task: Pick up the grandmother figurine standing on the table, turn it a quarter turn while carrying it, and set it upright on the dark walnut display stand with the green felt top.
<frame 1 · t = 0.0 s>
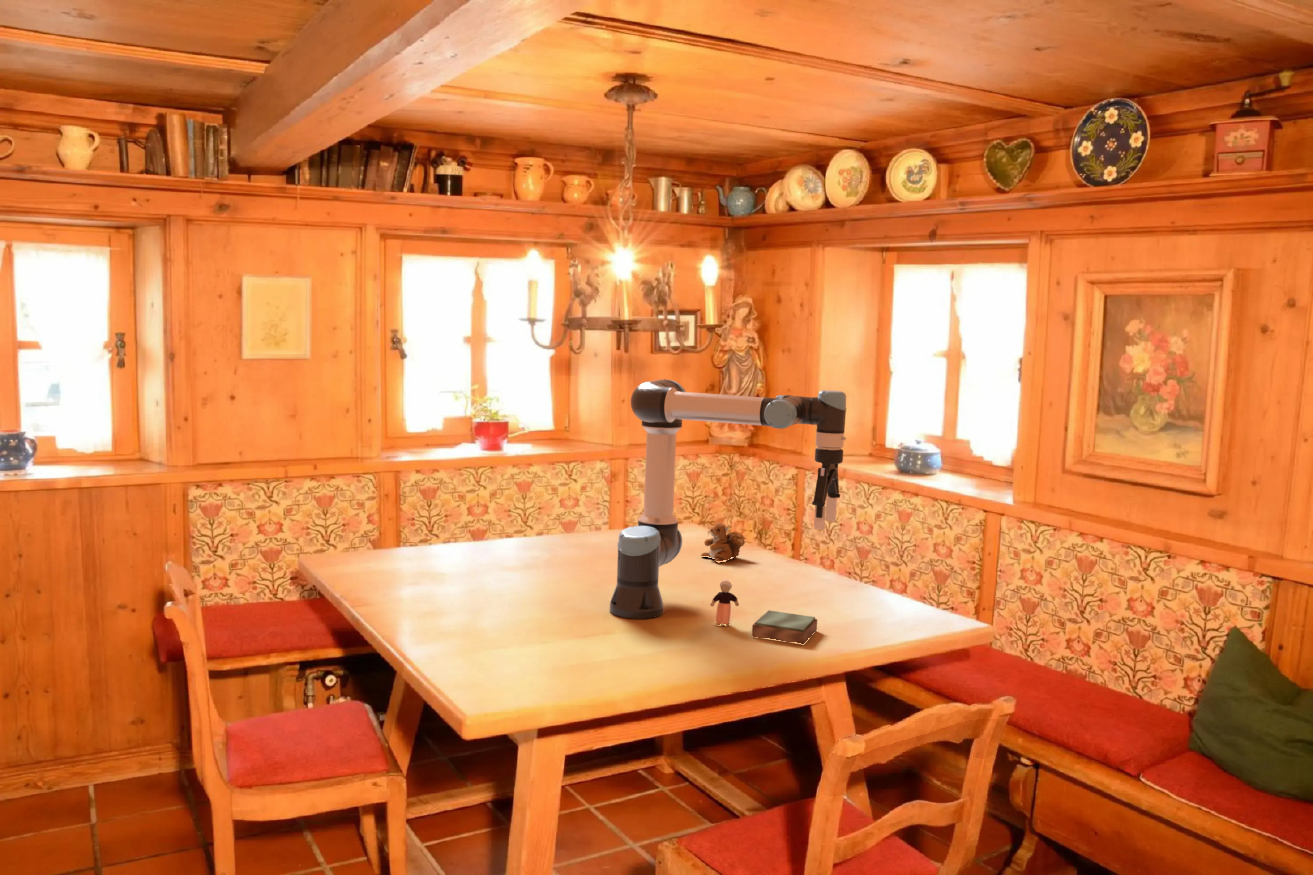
hand: (824, 525, 286), 28 cm above the table, tool pointing down, fingers open, 13 cm apart
grandmother figurine: (724, 625, 285), on the table
stuffed squirrel: (723, 560, 363), on the table
display stand: (784, 634, 279), on the table
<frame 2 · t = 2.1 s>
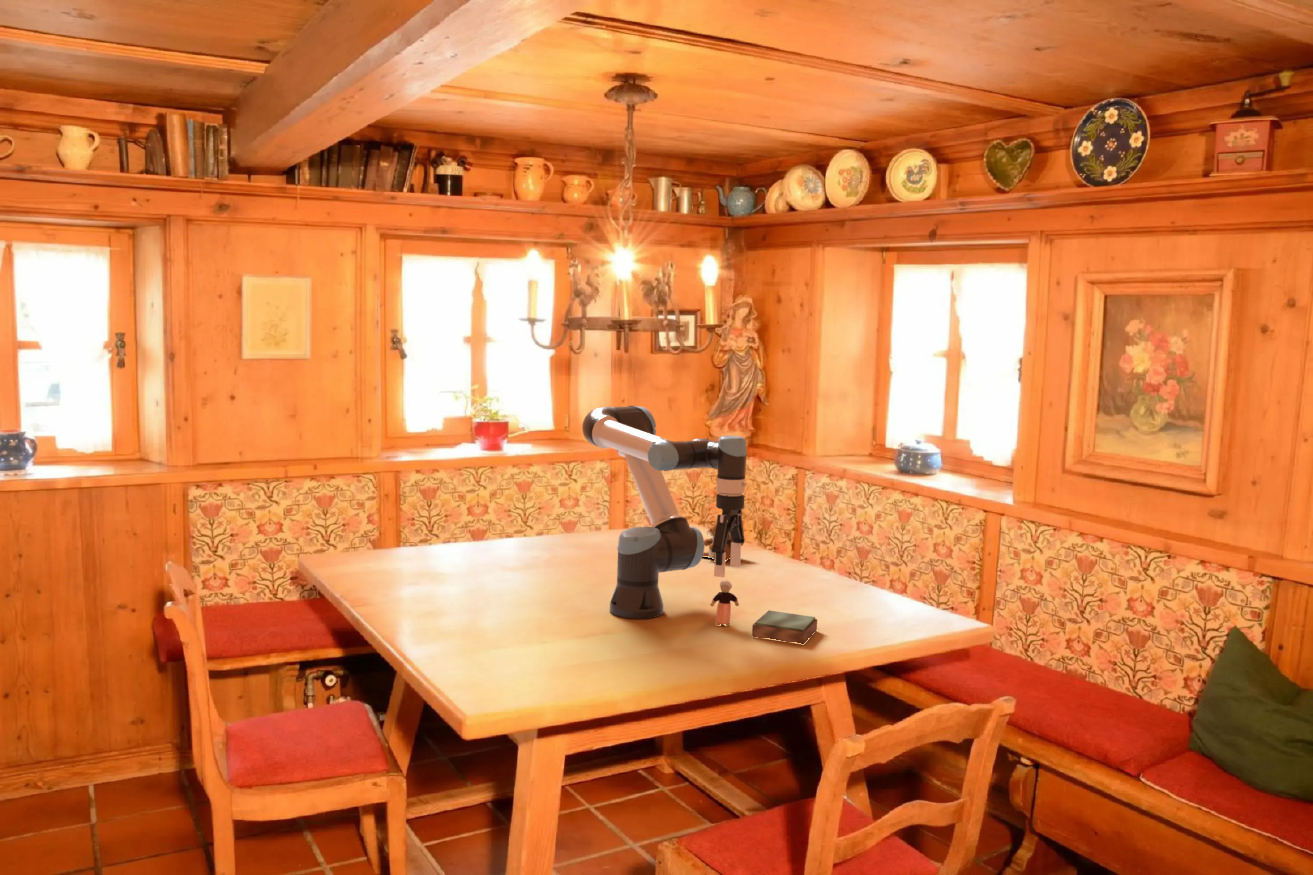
hand: (727, 571, 283), 15 cm above the table, tool pointing down, fingers open, 13 cm apart
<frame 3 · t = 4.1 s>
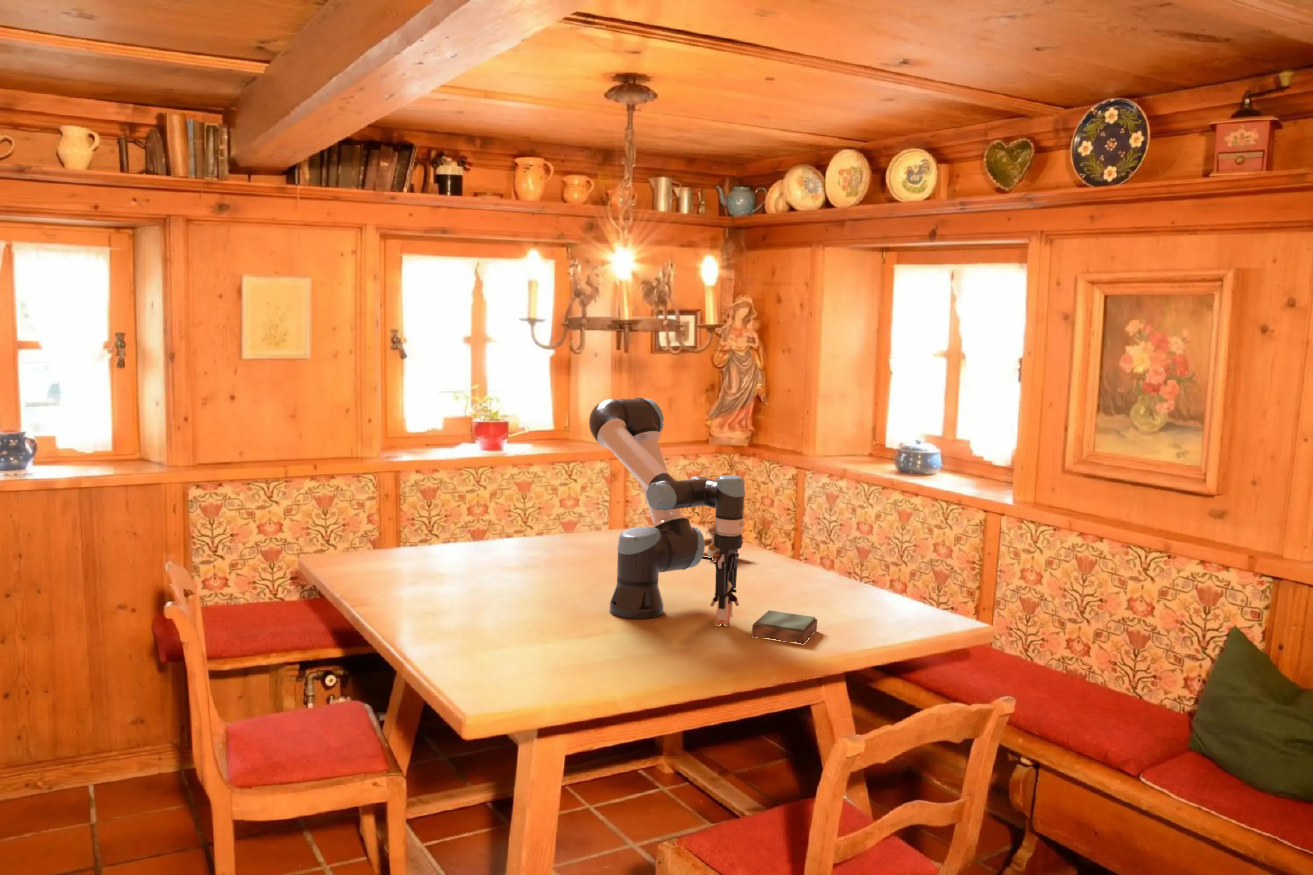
hand: (724, 617, 285), 2 cm above the table, tool pointing down, fingers closed on grandmother figurine, 3 cm apart
grandmother figurine: (724, 625, 285), on the table, touching gripper
everything else where it was.
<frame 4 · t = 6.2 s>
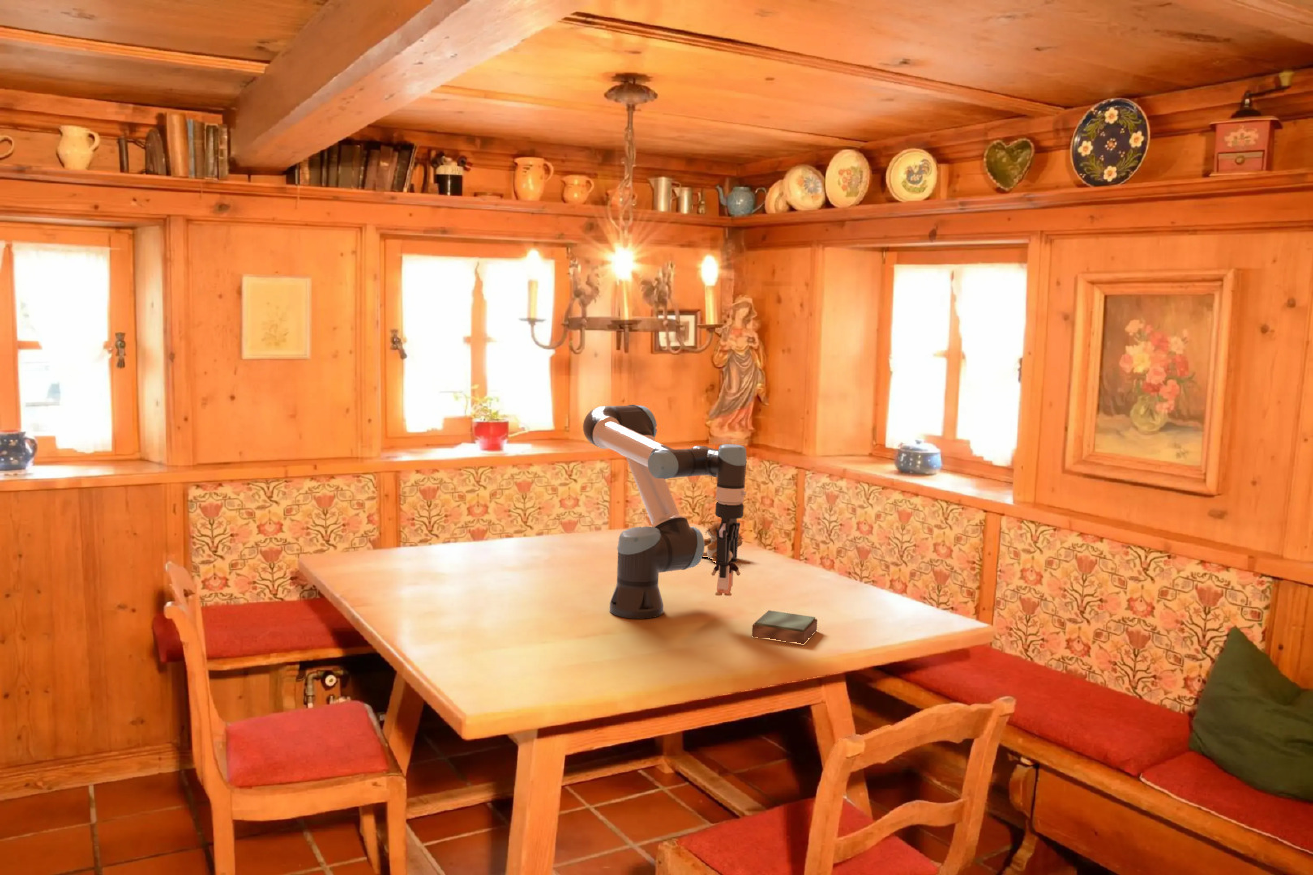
hand: (725, 586, 284), 11 cm above the table, tool pointing down, fingers closed on grandmother figurine, 3 cm apart
grandmother figurine: (725, 594, 285), point 8 cm above the table, touching gripper
everything else where it was.
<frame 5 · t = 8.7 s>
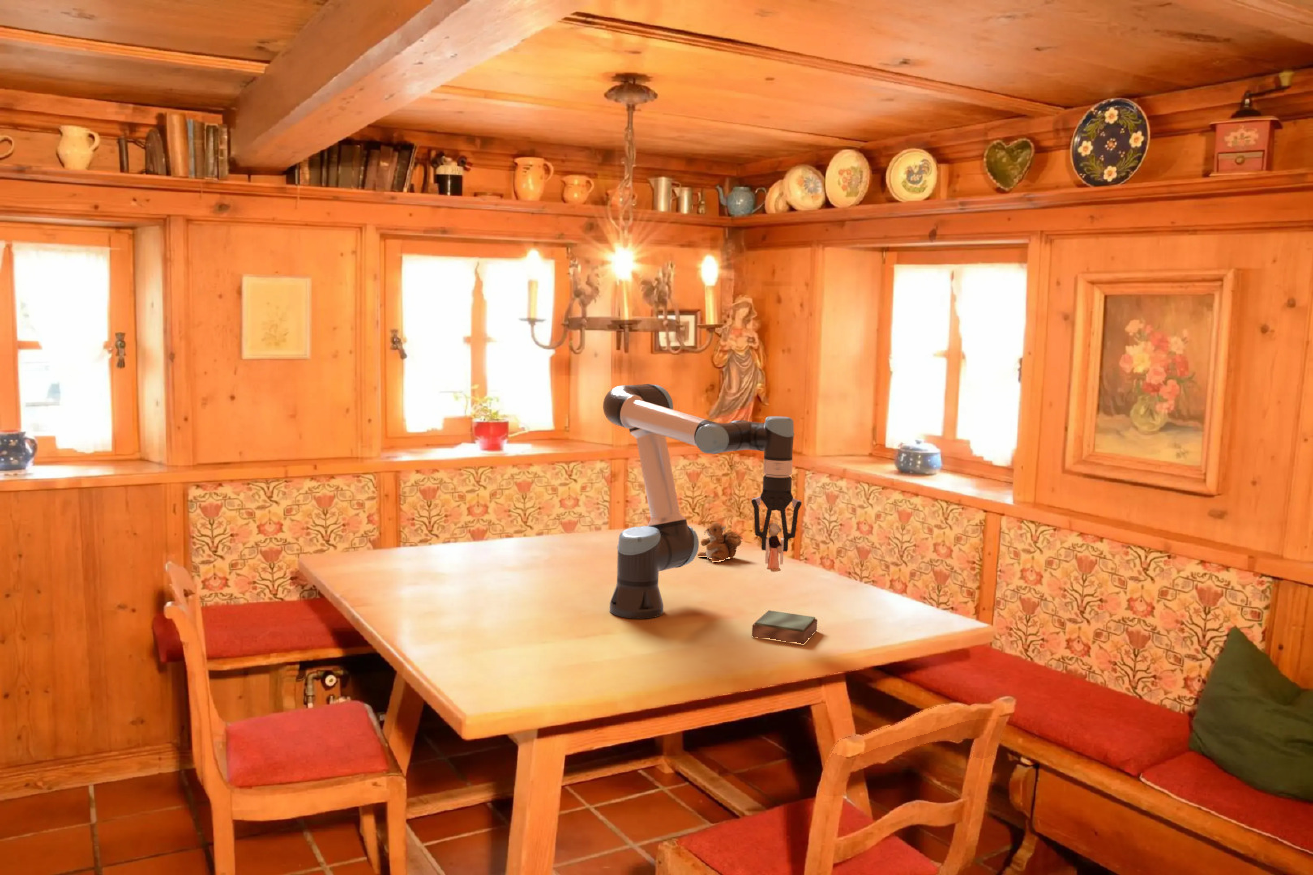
hand: (774, 562, 278), 19 cm above the table, tool pointing down, fingers closed on grandmother figurine, 3 cm apart
grandmother figurine: (774, 570, 278), point 17 cm above the table, touching gripper
when the fingers open (6 cm above the table, at t = 12.1 s): grandmother figurine stays where it is, resting on display stand.
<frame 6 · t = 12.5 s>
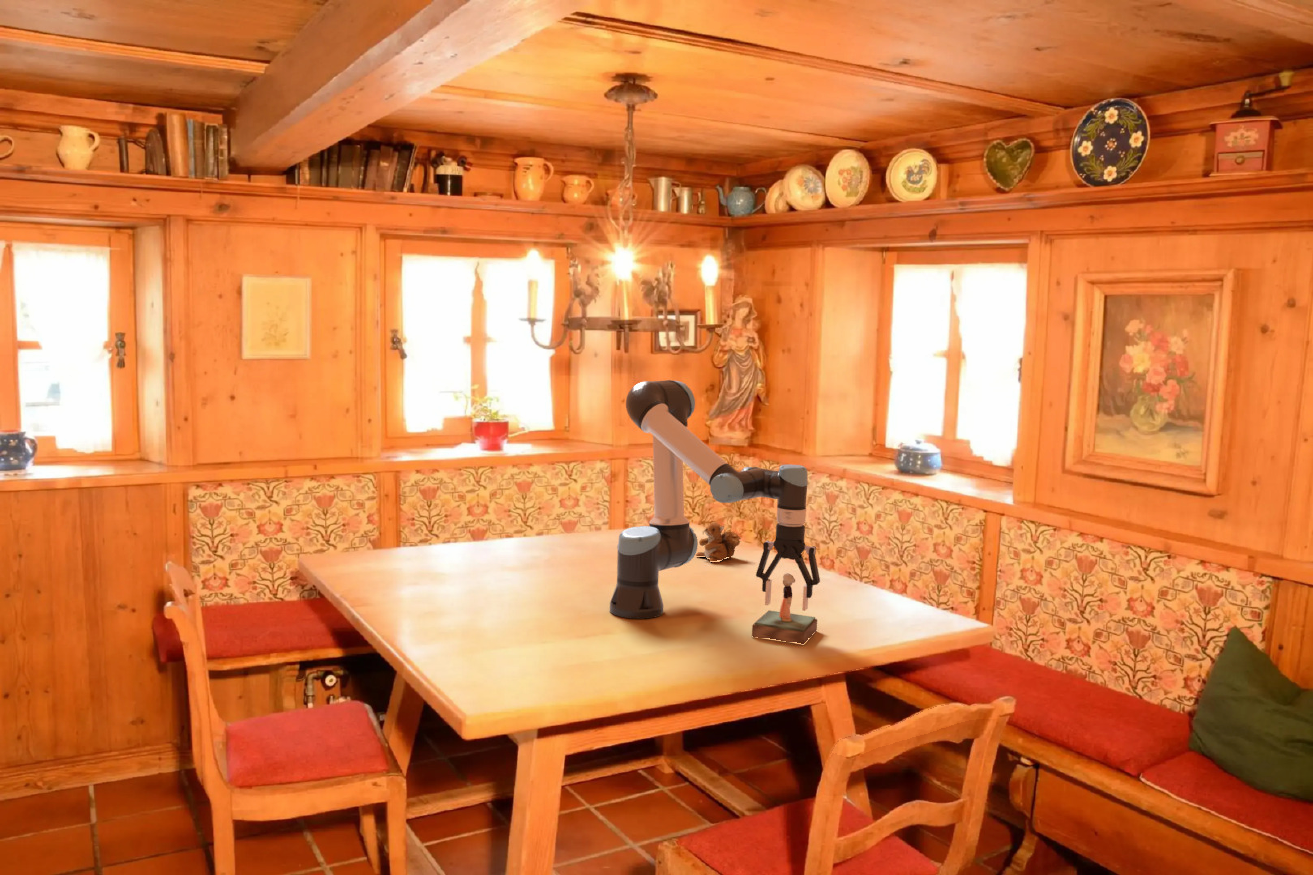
hand: (786, 606, 278), 8 cm above the table, tool pointing down, fingers open, 9 cm apart
grandmother figurine: (785, 620, 278), point 4 cm above the table, touching display stand
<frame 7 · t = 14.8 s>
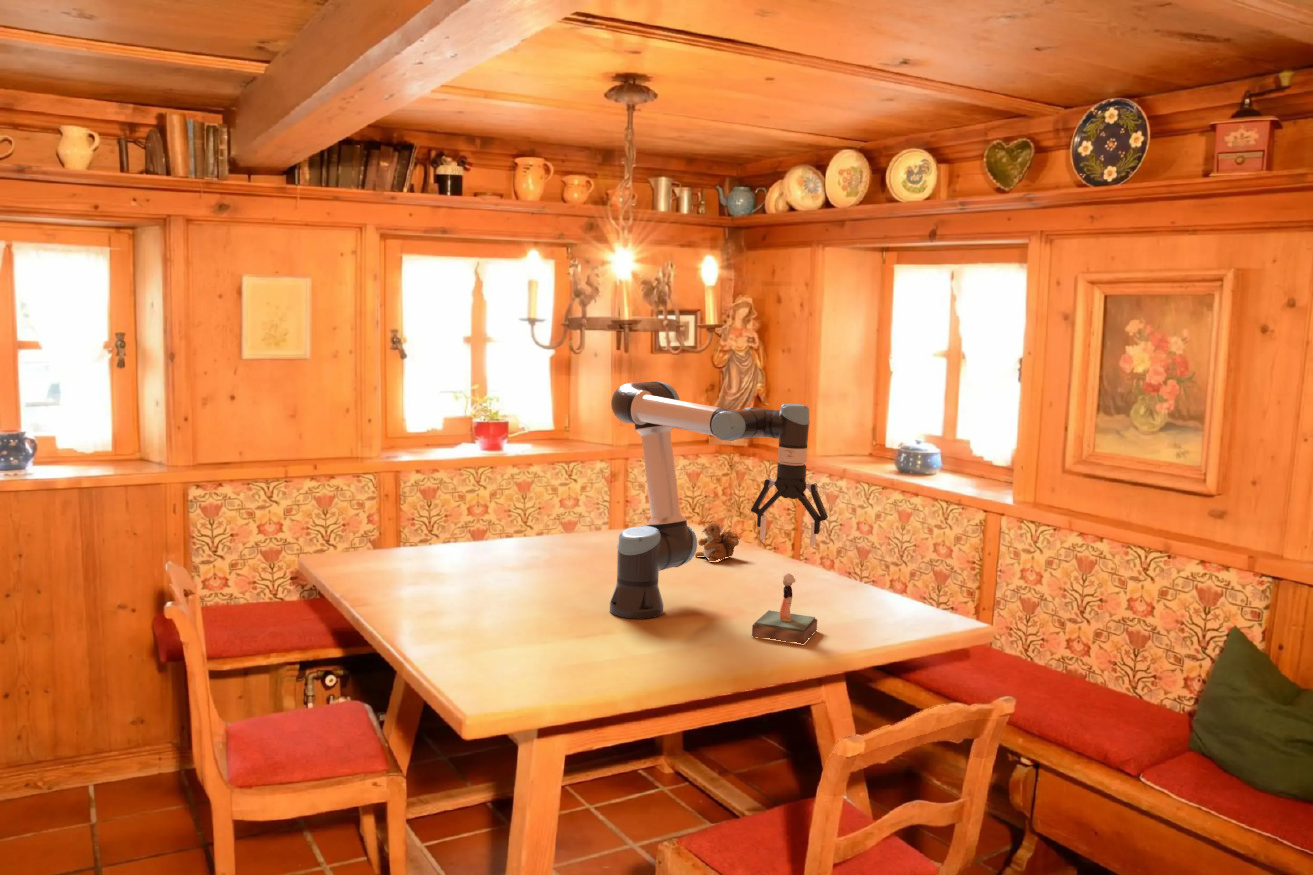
hand: (787, 542, 277), 25 cm above the table, tool pointing down, fingers open, 13 cm apart
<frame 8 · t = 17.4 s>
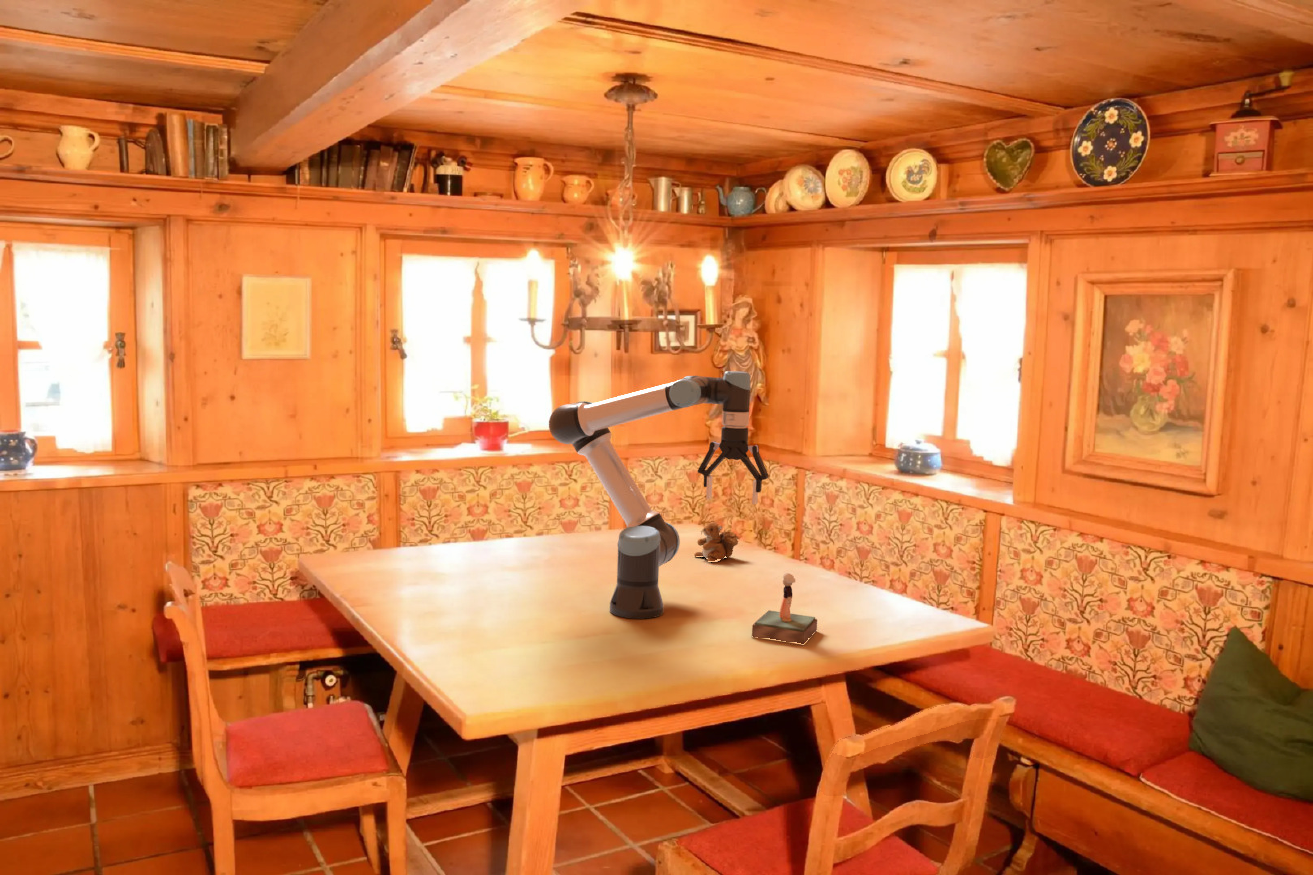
hand: (731, 501, 296), 32 cm above the table, tool pointing down, fingers open, 13 cm apart
at the end: grandmother figurine inside the target area on the display stand (0.2 cm from its centre), point 3.8 cm above the display stand's base; grandmother figurine tilted 0°; the gripper is holding nothing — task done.
